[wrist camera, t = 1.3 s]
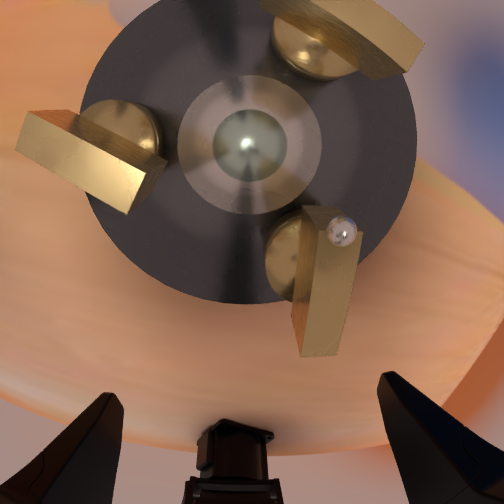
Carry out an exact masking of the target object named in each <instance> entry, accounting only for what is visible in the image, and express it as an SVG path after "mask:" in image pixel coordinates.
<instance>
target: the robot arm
mask: <svg viewBox="0 0 504 504" xmlns="http://www.w3.org/2000/svg"><path fill="white" fill-rule="evenodd" d="M377 395H378V399H379V404H380V408H381V412H382V417H383V421H384V426H385V430H386V433H387V436H388V439H389V442H390V445H391V447H392V451H393V454H394V457H395V460H396V463H397V466H398V469H399V472H400V475H401V478H402V481H403V485H404V488H405V491H406V494H407V498H408V501H409V504H504V451H502V450H500V449H499V448H497V447H495V446H493V445H492V444H490V443H488V442H487V441H485V440H484V439H482V438H481V437H479V436H478V435H477V434H475V433H474V432H472V431H471V430H470V429H468V428H467V427H466V426H464V425H463V424H462V423H460V422H459V421H458V420H456V419H455V418H454V417H453V416H451V415H450V414H449V413H447V412H446V411H445V410H444V409H442V408H441V407H440V406H438V405H437V404H436V403H435V402H433V401H432V400H431V399H429V398H428V397H427V396H426V395H424V394H423V393H422V392H420V391H419V390H418V389H417V388H415V387H414V386H413V385H411V384H410V383H409V382H407V381H406V380H405V379H404V378H402V377H401V376H400V375H398V374H397V373H396V372H394V371H389V372H384V373H382V374H381V377H380V380H379V384H378V387H377ZM123 418H124V408H123V406H122V404H121V403H120V401H119V399H118V398H117V396H116V395H115V394H114V393H110V392H104V393H102V394H101V395H100V396H99V397H98V398H97V399H96V400H95V401H94V402H93V403H92V404H90V405H89V406H88V407H87V408H86V409H85V410H84V411H83V412H82V413H81V414H80V415H79V416H78V417H77V418H76V419H75V420H74V421H73V422H72V423H71V424H70V425H69V426H68V427H67V428H66V429H65V430H63V431H62V432H61V433H60V435H58V436H57V437H56V438H55V439H54V440H53V441H52V442H51V443H50V444H49V445H48V446H47V447H46V448H45V449H44V450H43V451H42V452H40V453H39V454H38V455H37V456H36V457H35V458H34V459H33V460H32V461H31V462H30V463H29V464H28V465H26V466H25V467H24V468H23V469H21V470H20V471H19V472H17V473H16V474H15V475H14V476H12V477H11V478H9V479H8V480H7V481H5V482H4V483H3V484H1V485H0V504H112V498H113V491H114V485H115V478H116V472H117V467H118V461H119V456H120V450H121V442H122V429H123ZM273 439H274V434H273V433H270V432H266V431H262V430H258V429H254V428H251V427H247V426H244V425H240V424H237V423H234V422H230V421H227V420H220V421H219V422H218V423H217V424H216V425H215V426H214V427H213V428H211V429H210V430H209V431H207V432H206V433H205V434H204V435H203V436H202V437H201V438H200V439H199V440H198V441H197V446H198V453H197V465H196V468H197V470H199V471H200V478H197V477H195V476H191V477H190V481H186V482H185V491H184V497H183V500H182V504H284V503H283V497H282V492H281V487H280V481H279V478H276V479H270V480H269V478H268V464H267V450H266V444H267V443H268V442H270V441H271V440H273ZM199 495H200V497H199Z"/></svg>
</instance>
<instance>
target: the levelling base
mask: <svg viewBox="0 0 504 504" xmlns="http://www.w3.org/2000/svg"><path fill="white" fill-rule="evenodd" d="M424 44H425V43H423V42H422V41H421V40H420V39H419V38H418V37H417V36H416V35H415V34H413V32H411V31H410V30H409V29H408V28H407V27H406V26H404V25H403V24H402V23H401V22H400V21H399V20H397V19H396V18H395V17H394V16H393V15H391V14H390V13H389V12H387V11H386V10H385V9H383V8H382V7H381V6H380V5H378V4H377V3H376V2H374V1H373V0H160V1H158V2H157V3H155V4H154V5H153V6H151V7H149V8H148V9H146V10H145V11H143V12H142V13H141V14H140V15H138V16H137V17H136V18H135V19H134V20H133V21H132V22H130V23H129V24H128V25H127V26H126V27H125V28H124V29H123V30H122V31H121V32H120V33H119V35H118V36H117V37H116V38H115V39H114V40H113V42H112V43H111V44H110V45H109V47H108V48H107V50H106V51H105V53H104V54H103V56H102V57H101V59H100V61H99V62H98V64H97V65H96V67H95V70H94V72H93V74H92V76H91V78H90V81H89V83H88V85H87V88H86V91H85V94H84V98H83V101H82V105H81V109H80V115H78V114H76V113H74V112H72V111H70V110H41V111H28V112H27V114H26V117H25V120H24V123H23V126H22V129H21V132H20V135H19V138H18V142H17V145H16V149H15V150H16V151H18V152H20V153H21V154H23V155H25V156H26V157H28V158H29V159H31V160H33V161H34V162H36V163H38V164H40V165H41V166H43V167H45V168H46V169H48V170H50V171H51V172H53V173H55V174H56V175H58V176H60V177H62V178H63V179H65V180H67V181H68V182H70V183H72V184H74V185H75V186H77V187H79V188H81V189H82V190H84V191H85V192H86V195H87V197H88V200H89V202H90V205H91V207H92V209H93V212H94V213H95V215H96V217H97V219H98V220H99V222H100V224H101V226H102V227H103V229H104V230H105V232H106V233H107V234H108V236H109V237H110V238H111V240H112V241H113V242H114V244H115V245H116V246H117V247H118V248H119V249H120V250H121V251H122V252H123V253H124V254H125V255H126V256H127V257H128V258H129V259H130V260H131V261H132V262H133V263H134V264H136V265H137V266H138V267H139V268H141V269H142V270H143V271H145V272H146V273H147V274H149V275H150V276H152V277H154V278H155V279H157V280H159V281H160V282H162V283H164V284H165V285H167V286H170V287H172V288H174V289H176V290H178V291H181V292H183V293H186V294H189V295H192V296H195V297H198V298H202V299H205V300H211V301H216V302H222V303H232V304H263V303H271V302H277V301H283V300H285V299H284V298H282V297H281V296H279V295H278V294H277V293H276V292H275V291H274V290H273V288H272V287H271V285H270V283H269V281H268V278H267V274H266V268H265V261H264V255H263V248H264V242H265V238H266V236H267V233H268V232H269V230H270V228H271V227H272V226H273V224H274V223H275V222H276V221H277V220H278V219H280V218H281V217H282V216H284V215H286V214H287V213H290V212H292V211H295V210H298V209H302V205H311V206H332V207H338V208H339V209H340V210H341V211H342V212H343V213H345V214H346V215H347V216H348V217H350V218H351V219H352V220H353V221H354V222H355V224H356V225H357V226H358V227H359V228H360V229H361V230H362V231H363V235H362V241H361V247H360V253H359V258H358V264H359V263H360V262H361V261H362V260H363V259H364V258H365V257H366V256H367V255H369V254H370V253H371V252H372V251H373V250H374V249H375V247H376V246H377V245H378V244H379V242H380V241H381V240H382V239H383V238H384V236H385V235H386V234H387V232H388V231H389V229H390V228H391V226H392V224H393V223H394V221H395V220H396V218H397V216H398V214H399V212H400V210H401V208H402V206H403V204H404V202H405V199H406V197H407V194H408V191H409V188H410V184H411V181H412V178H413V173H414V167H415V161H416V148H417V131H416V120H415V113H414V108H413V104H412V100H411V96H410V92H409V90H408V87H407V85H406V82H405V79H404V77H403V74H402V73H406V72H408V71H409V69H410V67H411V65H412V64H413V63H414V61H415V59H416V58H417V56H418V54H419V53H420V51H421V50H422V48H423V46H424ZM358 264H357V265H358Z"/></svg>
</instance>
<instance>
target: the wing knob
mask: <svg viewBox="0 0 504 504" xmlns="http://www.w3.org/2000/svg"><path fill="white" fill-rule="evenodd" d="M362 235H363V231H362V230H361V229H360V228H359V227H358V226H357V225H356V224H355V222H354V221H353V220H352V219H351V218H350V217H348V216H347V215H346V214H345V213H343V212H342V211H341V210H340V209H339V208H338V207H332V206H311V205H302V209H298V210H295V211H292V212H290V213H287V214H286V215H284V216H282V217H281V218H280V219H278V220H277V221H276V222H275V223H274V224H273V226H272V227H271V228H270V230H269V232H268V233H267V236H266V238H265V242H264V248H263V255H264V261H265V268H266V274H267V278H268V281H269V283H270V285H271V287H272V288H273V290H274V291H275V292H276V293H277V294H278V295H279V296H281V297H282V298H284V299H285V300H287V301H290V302H292V311H291V317H292V322H293V326H294V330H295V335H296V339H297V344H298V348H299V353H300V357H320V356H335V355H336V354H337V351H338V347H339V343H340V339H341V335H342V332H343V328H344V324H345V319H346V315H347V311H348V307H349V302H350V298H351V293H352V288H353V284H354V279H355V274H356V269H357V264H358V258H359V253H360V247H361V241H362Z"/></svg>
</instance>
